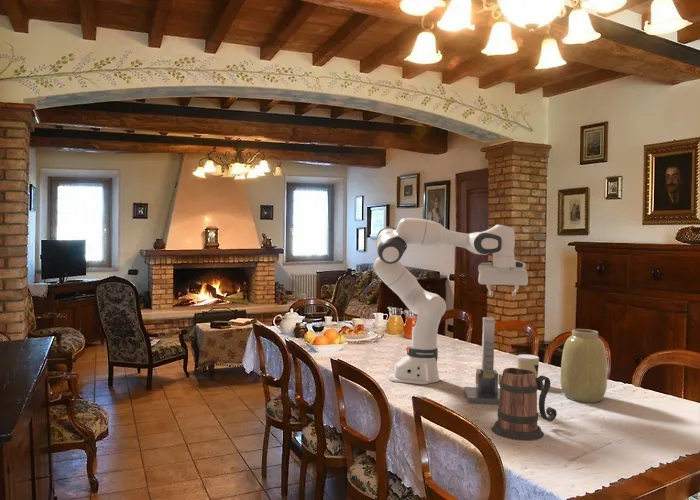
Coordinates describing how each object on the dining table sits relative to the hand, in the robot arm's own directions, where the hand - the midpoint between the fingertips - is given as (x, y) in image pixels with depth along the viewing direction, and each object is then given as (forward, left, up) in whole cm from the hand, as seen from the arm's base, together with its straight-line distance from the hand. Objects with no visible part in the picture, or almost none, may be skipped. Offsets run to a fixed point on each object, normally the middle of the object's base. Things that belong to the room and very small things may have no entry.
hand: (502, 295), depth 238 cm
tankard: (0, -53, -39) cm, 66 cm away
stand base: (-8, -17, -39) cm, 43 cm away
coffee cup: (+13, +8, -39) cm, 42 cm away
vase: (+31, -10, -39) cm, 51 cm away
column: (-8, -17, -31) cm, 36 cm away
